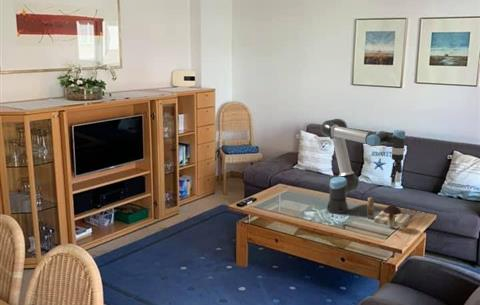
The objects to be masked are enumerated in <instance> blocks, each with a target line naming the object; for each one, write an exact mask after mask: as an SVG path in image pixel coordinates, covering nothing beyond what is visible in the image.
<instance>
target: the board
mask: <svg viewBox="0 0 480 305" xmlns="http://www.w3.org/2000/svg"><path fill="white" fill-rule="evenodd" d="M383 211H384V210H381V211H380V212H379V213H378V214H377V215H376V216H375V217H374V218H373V223H375V224H380V225H381V224H382V225H387V226H388V220H389V214H387V213H385V212H383ZM409 219H410V214H406V213H401V214H397V215H395V227H398V228H403V226H405V224H406V223H407V222H408V221H409Z"/></svg>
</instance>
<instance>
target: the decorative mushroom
mask: <svg viewBox="0 0 480 305" xmlns="http://www.w3.org/2000/svg"><path fill="white" fill-rule="evenodd" d="M382 211H383V212H385V213H387V214H389V220H388V225H387V226H388V228H389V229H394V228H395V227H396V226H395V215H397V214H402V211H401V209H400V208H399V207H397V206H396V205H391V204H390V205H388V206H386V207H385V208H384V210H382Z"/></svg>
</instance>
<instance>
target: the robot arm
mask: <svg viewBox="0 0 480 305" xmlns="http://www.w3.org/2000/svg"><path fill="white" fill-rule="evenodd" d="M320 131H321V134H322V135H323V136H324V137H327V138H330V140H331V141H332V143H333V147H334V153H335V156H336V162H337V165H338V166H337V167H338V169H339V174H338V176H337V177H336V176H335V177H332V178H331V179H330V180H329V200H328V202H327V205H326V211H327V212H328V211H329V213H332V214H337V215H338V214H339V215H340V214H347V213H348V212H349V206H348V203H347V194H349V193H353V192H355V191H357V190H358V189H359V187H360V178H359V177H358V176H357V175H356V174H355V172H354V171H353V169H352V166H351V161H350V157H349V152H348V147H347V143H346V140H348V141H353V142H358V143H362V144H367V145H368V146H370V147H376V146H380V145H383V144H390V145H392V146H391V160H393V162H392V168H391V174H390V176H389V178H391V181H390V187H391V188H396V183H401V175H402V174H403V167H402V166H403V164H402V161H403V160H404V153H405V151H406V149H405V144H406V143H405V142H406V132H405V130H402V129H395V130H393V132H390V131H384V130H378V131H376V133H373V132H367V131H363V130H359V129H355V128H354V129H353V128H348V124H347V123H346V121H345V120H344V119H341V118H334V119H328V120H326V121H324V122H322V124H321V125H320Z"/></svg>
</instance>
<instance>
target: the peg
mask: <svg viewBox="0 0 480 305" xmlns="http://www.w3.org/2000/svg"><path fill="white" fill-rule="evenodd" d="M374 203H375V198H374V197H371V196H370V197H367V208H366V209H367V210H366V212H367V213H366V214H367V217H366V218H367V219H369V220H372V219H374V218H373V217H374V216H373V215H374V208H375V207H374V206H375V204H374Z"/></svg>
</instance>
